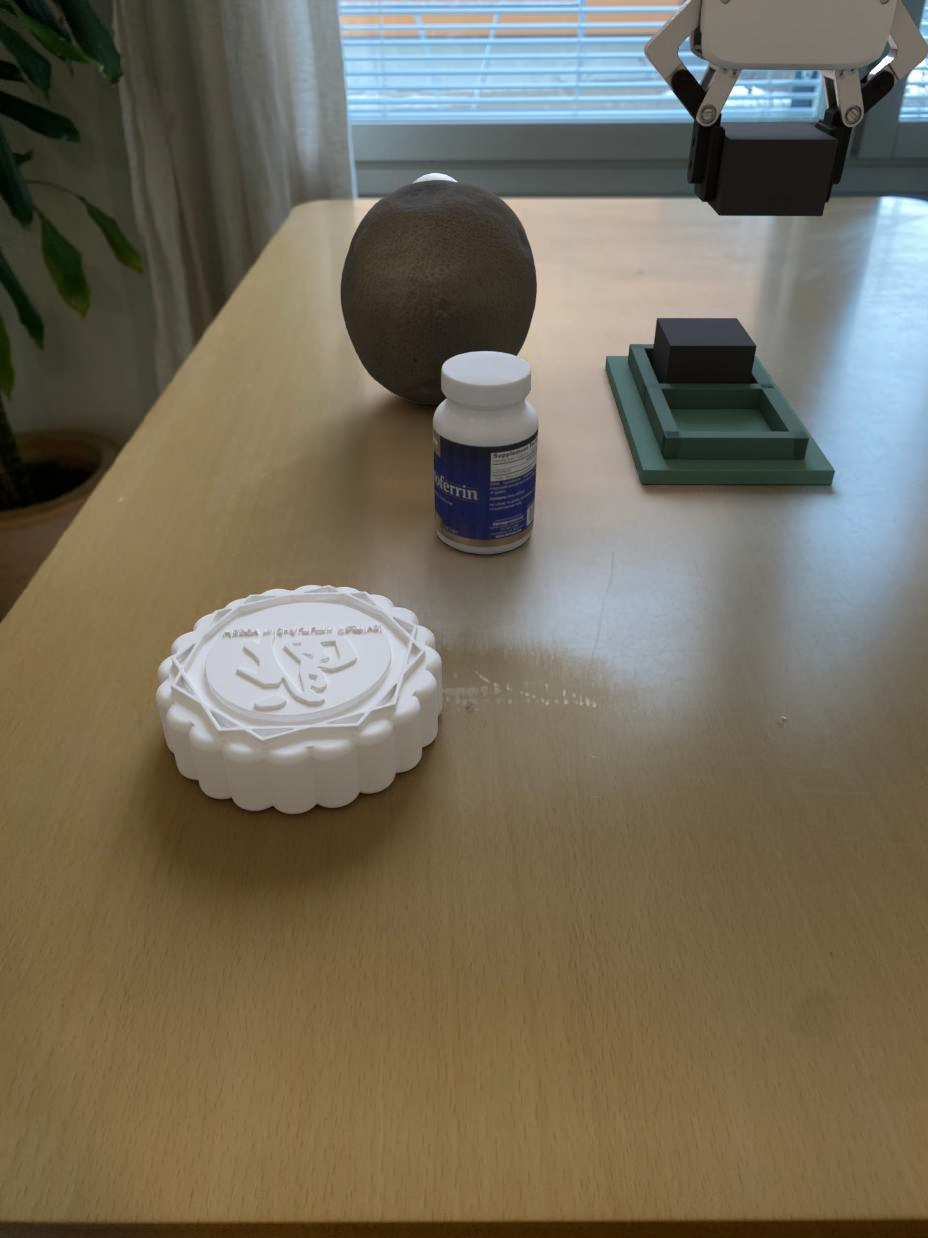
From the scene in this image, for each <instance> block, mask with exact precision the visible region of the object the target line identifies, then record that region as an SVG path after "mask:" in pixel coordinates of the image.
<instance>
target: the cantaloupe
mask: <svg viewBox="0 0 928 1238" xmlns="http://www.w3.org/2000/svg"><path fill="white" fill-rule="evenodd" d="M526 232H527V231H526V229H525V227H524V225H523V224H522V221H521V220H520V218H519V217H518V215H517V214H516V212H515V211H514V210H513V209H512V208H511V207H510V206H509V205H508V204H507V202H506V201H504V199H502V198H500V197H499V196H498V195H497V194H495V193H494V192H493V191H492V192H491V191H489V190H488V189H486V188H483V187H480V186H476V185H474V184H469V183H466V182H459V181H457V182H454V181H448V180H430V181H422V182H416V183H413V182H412V183H409V184H405V185H404V186H401V187H399V188H397V189H396V190H394V191H392V192H391V193H389V194H387V195H386V196H384V197H382V198H380V199H379V200H378V201H376V203H374V204H373V205H372V207H370V209H369V210H368V211H367V213H366V214H365V215H364V216H363V217H362V219H361V221H360V222H359V224H358V226H357V227H356V229H355V232H354V234H353V236H352V238H351V240H350V244H349V248H348V251H347V254H346V256H345V259H344V263H343V268H342V272H341V279H340V306H341V312H342V317H343V321H344V325H345V327H346V331H347V334H348V337H349V339H350V342H351V345H352V346H353V347H352V348H353V349H354V351H355V353H356V355H357V357H358V359H359V361H360V363H361V365H362V366H363V368H364V370H365V371H366V372H367V373H368V375H369V376H370V377H371V378H372V379H373V380H374V381H375V382H376V383H378V384H379V385H380V386H382V387H383V388H384V389H386V390H388V391H389V392H390V393H392V394H394V395H395V396H397V397H399V398H401V399H404V400H406V401H408V402H410V403H411V402H412V403H415V404H421V405H440V404H441V403H442V402H443V401H444V400H445V399H446V396H445V395H444V393H443V392H442V389H441V370H442V366H443V364H444V363H445V362H446V361H447V360H448V359H450V358H452V357H454V356H457V355H460V354H464V353H469V352H479V351H492V352H502V353H507V354H511V355H514V356H517V357H518V355H519V353H520V352H521V350H522V349H523V346H524V344H525V342H526V340H527V337H528V334H529V332H530V328H531V324H532V321H533V317H534V312H535V309H536V303H537V295H538V294H537V293H538V281H537V279H538V278H537V269H536V265H535V259H534V254H533V250H532V246H531V244H530V243H531V242H530V241H529V238H528V235H527V233H526Z"/></svg>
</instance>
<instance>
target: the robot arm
mask: <svg viewBox="0 0 928 1238" xmlns="http://www.w3.org/2000/svg"><path fill="white" fill-rule="evenodd" d="M687 39H688V46H689V50H690V52H691V53H692V54H693V55H694V56H695V57H697V58H699V59H700V60H703V61H706V62H707V63H708V65H707V67H706V69H705V71H704V73H703V75H702V77H701V79H700V81H698V80H697V79H696V77H695V76H694V75H693V73H692V72H691V71H690V70H689V69H688V67H687V66H686V65H685V64H684V62H683V61H682V59H681V58H680V56H679V50H680V47H681V45H682V44H683V43H684V42H685V41H686V40H687ZM887 43H888V44H889V51H888V53H887V55H886V56H885V57H884V58H883V59H882V60H881V62H879V64H877V65H876V66H875V67H874V68H871V69H869V70H868V71H867V72H866V73H864V74H863V76H861V77H860V72H859V69H860V68H861V69H862V68H864V67H866V66H869V65H871V64H873V63H875V62H876V61H877V60H878V59H879V58H881V56H882V54H883V53H884V51H885V48H886V46H887ZM643 53H644V56H645V58H646V59H647V60H648V62H649V63H650V64H651V65H652V67H653V68H654V69H655V70H656V72H657V73H658V74H659V76H660V77H661V78H662V79H663V81H664V82H665V83H666V85H667V86H668V87H669V89H670V90H671V92H672V93H673V94H674V96H675V97H676V98H677V99H678V101H679V102H680V103H681V105H682V106H683V107H684V108H685V110H686V111H687V112H688V114H689V116H690V118H692V119H693V125H692V134H691V140H690V149H689V156H688V162H687V163H688V164H687V170H686V171H687V173H686V178H687V179H686V181H687V183H688V184H689V185H694V186H693V192H694V194H695V195H696V197H697V198H698V199H699V200H700V201H701V202H702V203H707V202H712V200H714V199H715V196H716V189H717V183H718V176H719V169H720V162H721V155H722V149H723V142H724V136H725V128H723V127H722V126H721V125H720V124H721V123H722V116H723V113H722V111H723V108H724V106H725V105H726V102H728V101H727V100H728V99H729V97H730V95H731V93H732V91H733V89H734V88H735V85H736V83H737V81H738V79H739V77H740V75H741V73H742V71H820V72H821V73H820V74H821V80H822V86H823V93H824V99H825V105H826V109H825V110H824V115H823V118H819V119H818V122H816V123H815V125H814V127H815V128H817V129H819V130H821V131H823V132H825V133H827V134H828V135H830V136H832V137H834V138H836V139H838V145H837V149H836V154H835V159H834V164H833V168H832V173H831V178H830V183H829V187H828V192H827V197H826V202H825V204H826V203H829V201H830V199H831V195H832V190H833V185H839V184H840V183H841V180H842V178H843V172H844V168H845V163H846V159H847V154H848V149H849V144H850V140H851V135H852V131H853V128H854V127H856V126H858V125H859V124H860V123H861V122H862V121H863V119H864V116H865V114H867V113H868V112H869V111H870V110H871V109H872V108H873V107H875V106H876V105H877V104H878V103H879V102H880V101H881V100H882V99H883V98H884V97H886V96H887V95H888V94H889V93H890V92H891V91H892V90H893V88H894V86H895V85H896V84H897V83H898V82H900V81H902V80H903V79H904V78H905V77H906V76H908V75H909V74H910V73H911V72H912V71H913V70H915V69H916V68H917V67H918V66H919V65H920V64H921V63H923V61H925V60H926V58H927V57H928V43H927V41H926V39H925V37H924V36H923V34H922V33H921V31H920V29H919V28H918V26H917V25H916V23H915V21H914V19H913V18H912V16H911V14H910V13H909V11H908V9H907V8H906V6H905V4H904V2H903V1H902V0H685V1H684V3H683V4H682V5H680V6H679V8H678V9H677V10H676V11H675V12H674V13H673V14H672V15H671V16H670V18H668V20H666V22H665V23H664V24H663V25H662V26H661V27H659V29H658V30H657V31H656V32H655V33H654V34H653V35H652V36H651V38H650V39H649V40H647V42H646V43H645V45H644V47H643Z"/></svg>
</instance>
